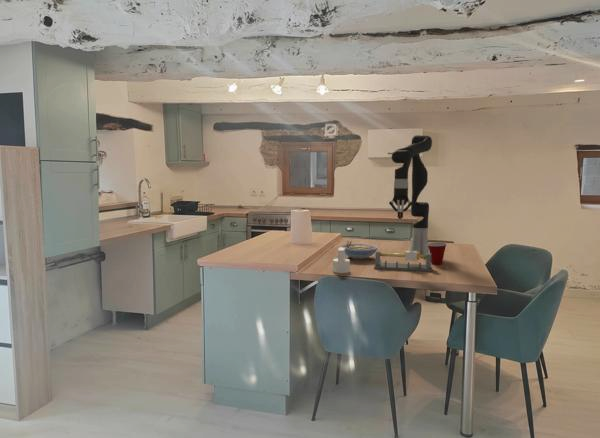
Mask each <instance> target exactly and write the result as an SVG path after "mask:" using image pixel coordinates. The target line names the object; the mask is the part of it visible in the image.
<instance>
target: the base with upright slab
mask: <svg viewBox="0 0 600 438" xmlns="http://www.w3.org/2000/svg"><path fill="white" fill-rule="evenodd" d="M350 260H351V259H348V258H346V254H345V248H344V247H340V246H339V247H338V249H337V258H333V259H332V272H333V273H337V274H347V273H350V272H351V261H350Z"/></svg>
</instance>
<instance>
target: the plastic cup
mask: <svg viewBox="0 0 600 438" xmlns="http://www.w3.org/2000/svg"><path fill="white" fill-rule="evenodd" d="M427 245H428V247H429V252H428V253H431V265H436V266H439V265H442V264H443V260H444V256H445V251H446V247H447V245H448V243H446V242H441V241H440V242H437V241H436V242H429V243H428V244H427Z"/></svg>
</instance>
